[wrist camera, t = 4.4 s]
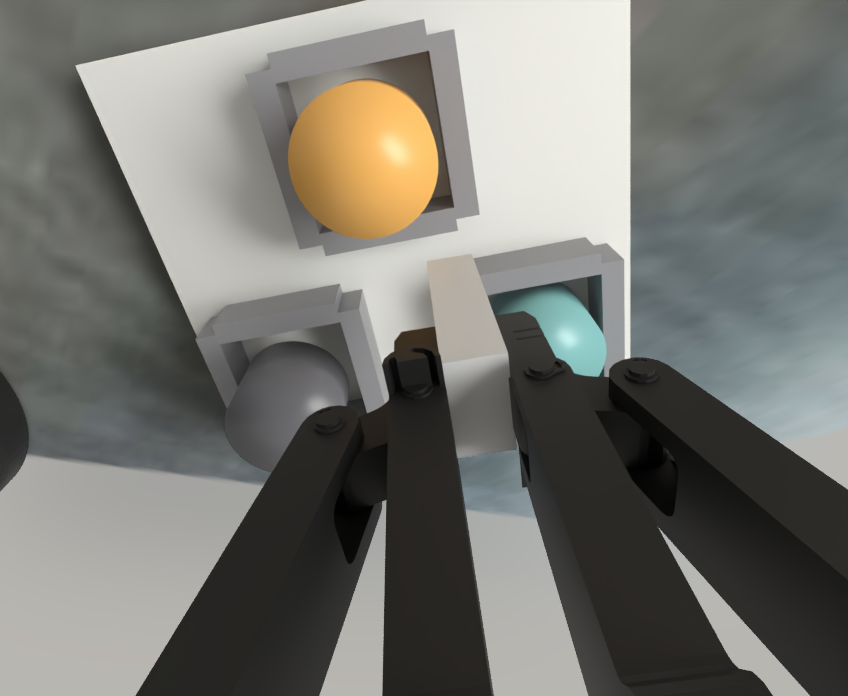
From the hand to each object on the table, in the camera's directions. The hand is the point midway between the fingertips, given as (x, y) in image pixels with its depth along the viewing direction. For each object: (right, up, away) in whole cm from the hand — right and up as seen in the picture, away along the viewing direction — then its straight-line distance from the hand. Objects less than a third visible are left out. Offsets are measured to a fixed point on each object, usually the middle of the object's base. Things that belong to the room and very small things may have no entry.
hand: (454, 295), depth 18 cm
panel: (-2, +4, +9) cm, 10 cm away
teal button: (+5, -1, +9) cm, 10 cm away
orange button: (-3, +6, +3) cm, 7 cm away
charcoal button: (-7, -4, +8) cm, 11 cm away
